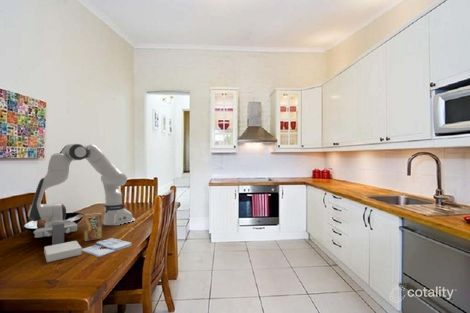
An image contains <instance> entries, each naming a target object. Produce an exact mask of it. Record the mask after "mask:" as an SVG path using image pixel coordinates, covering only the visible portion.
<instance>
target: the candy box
mask: <svg viewBox="0 0 470 313" xmlns="http://www.w3.org/2000/svg"><path fill="white" fill-rule="evenodd" d="M102 215H103V214H102V212H96V213H85V214H84V241H85V242H87V241H95V240H101V239H102V225H103V222H102Z"/></svg>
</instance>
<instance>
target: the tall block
mask: <svg viewBox="0 0 470 313" xmlns="http://www.w3.org/2000/svg"><path fill="white" fill-rule="evenodd" d="M61 243H65V233H64V223H63V222H58V223H52V236H51V245H56V244H61Z"/></svg>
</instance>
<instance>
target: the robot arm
mask: <svg viewBox="0 0 470 313" xmlns="http://www.w3.org/2000/svg"><path fill="white" fill-rule="evenodd" d="M81 160H86V161H87V162H88V163H89V164H90V165H91V167H92V168H93V169H94V171H96V172H97V173H98V174H100V175H101V176H100V180H101V182H102V185H103V190H104V196H105V198H104V199H105V202H104V203H105V204H104V218H103V222H102V225H103V226H120V224H121V225H125V224H124V223H126V224H129V223H128V222H130V223H133V222H132V221H134V222H136V221H135V220H136V218H135V217H133V213H132V212H131V211H130V210H128V209H127V208H126V207H127V206H128V205H127V204H126V203H123V202H122V201H123V198H122V197H123V193H122V192H121V189H120V187H123V186H124V185H126V184H127V181H128V177H127V175H126V174H125V173H124V172H122V171H121V170H120V169H119V168H118V167H117V166H115V164H113V163H112V162H111V161H110V159H109V158H108V156H106V154H105V153H104V152H103V151H102V150H101V149H100V148H99V147H97V146H96V145H95V144H88V145H84V144H81V143H70V144H66V145H65V146H64V147H63V148H62V149H61V150H60V152H58V153H57V152H56V153H53V154H52V155H50V158H49V161H48V167H47V172H46V175H45V176H44V177H42V178H40V180H39V182H38V184H37V188H36V191H35V192H34V193H35V194H34V196H33V200H32V203H31V205H30V208H29V209H28V213H27V217H28V219H29V220H30V221H33V222H39V221H45V222H46V223H45V222H44V227H40V228H36V229H35V230H34V231H33V234H34V238H37V239H38V238H44V237H47V238H48V237H52V223H58V222H63V223H64V234H69V233H72V232H73V233H74V232H77V231H78V224H77V223H76V222H74V221H73V220H65V219H66V217H67V208H66V206H65V205H64V204H63V203H42V200H43V197H44V195H45V194H44V193H45V191H46V190H48V189H49V188H52V187H55V186H58V185H61V184H63V183H65V182H66V181H67V180H68V178H69V174H70V173H69V172H70V165H71V163H72V162H73V161H81ZM46 220H47V221H46Z"/></svg>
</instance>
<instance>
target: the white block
mask: <svg viewBox="0 0 470 313" xmlns="http://www.w3.org/2000/svg"><path fill="white" fill-rule="evenodd" d="M43 249H44V250H43V253H44V256H45V257H44V258H45V259H46V260H45V261H46V263H50V262H54V261H58V260H62V259H68V258H71V257H72V258H73V257H77V256H81V255H82V251H81V249H82V246H81V245H80V244H79V242H78V240H71V241H67V242H64V243H61V244H56V245H52V244H51V245H46V246H44V248H43Z"/></svg>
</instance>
